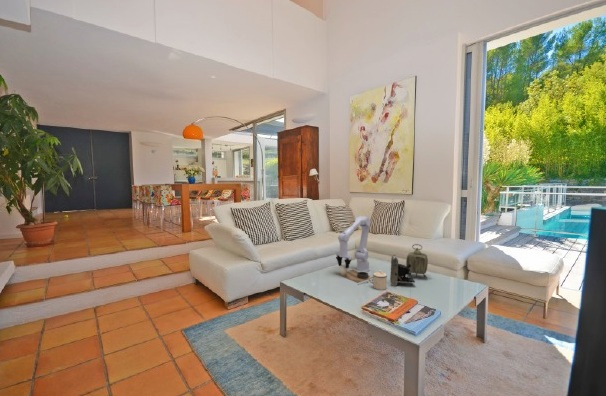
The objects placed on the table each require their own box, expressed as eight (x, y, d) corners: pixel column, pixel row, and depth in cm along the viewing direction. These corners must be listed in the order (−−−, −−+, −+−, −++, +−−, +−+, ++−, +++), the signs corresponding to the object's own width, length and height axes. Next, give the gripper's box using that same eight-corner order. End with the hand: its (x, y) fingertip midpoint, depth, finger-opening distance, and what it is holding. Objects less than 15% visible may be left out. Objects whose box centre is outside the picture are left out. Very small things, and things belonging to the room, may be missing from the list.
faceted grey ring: (362, 274, 210) (362, 271, 210) (370, 277, 204) (370, 273, 204) (355, 276, 206) (355, 273, 206) (363, 279, 199) (363, 276, 199)
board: (352, 271, 221) (352, 269, 221) (374, 279, 204) (374, 277, 204) (336, 276, 211) (336, 274, 211) (357, 284, 193) (357, 282, 193)
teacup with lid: (386, 285, 192) (386, 269, 191) (387, 290, 183) (387, 273, 182) (368, 284, 195) (368, 267, 194) (368, 289, 186) (368, 272, 185)
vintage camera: (415, 288, 187) (416, 259, 186) (391, 286, 190) (392, 257, 189) (412, 283, 197) (413, 256, 196) (389, 281, 200) (391, 254, 199)
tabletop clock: (427, 276, 208) (428, 244, 207) (426, 280, 200) (427, 246, 199) (407, 273, 215) (407, 242, 213) (405, 277, 207) (406, 244, 205)
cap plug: (343, 273, 213) (343, 264, 213) (347, 274, 209) (347, 265, 209) (339, 274, 210) (339, 265, 210) (343, 276, 207) (343, 267, 206)
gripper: (333, 248, 212) (333, 265, 213) (346, 252, 200) (346, 270, 201) (339, 247, 216) (339, 264, 217) (353, 250, 205) (353, 268, 205)
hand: (343, 267), depth 209 cm, fingers open, 7 cm apart
